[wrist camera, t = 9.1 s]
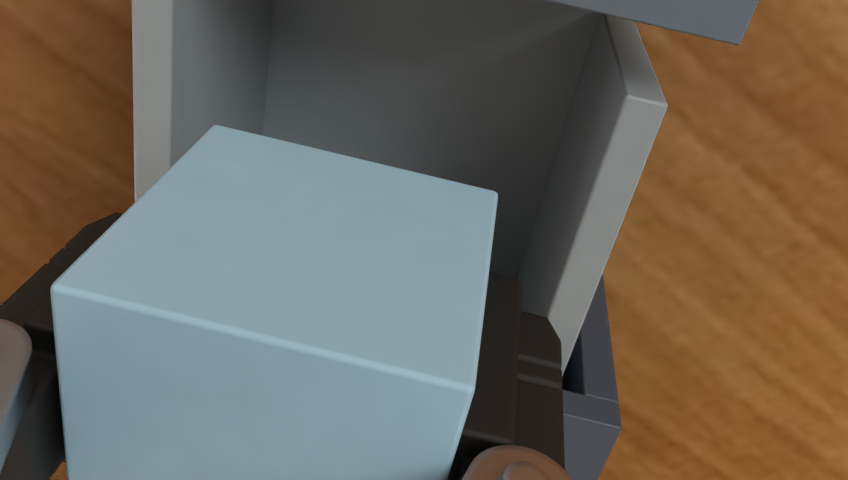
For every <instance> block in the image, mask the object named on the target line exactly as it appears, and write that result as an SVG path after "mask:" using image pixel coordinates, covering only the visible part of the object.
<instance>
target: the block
mask: <svg viewBox="0 0 848 480" xmlns="http://www.w3.org/2000/svg"><path fill="white" fill-rule="evenodd" d="M497 202H498V194H497V192H495V191H492V190H488V189H483V188H479V187H475V186H471V185H467V184H462V183H458V182H454V181H450V180H446V179H442V178H437V177H433V176H429V175H425V174H421V173H416V172H412V171H408V170H404V169H400V168H395V167H391V166H387V165H383V164H379V163H375V162H370V161H366V160H362V159H358V158H354V157H349V156H345V155H341V154H337V153H333V152H329V151H324V150H320V149H316V148H312V147H308V146H303V145H299V144H295V143H291V142H287V141H282V140H278V139H274V138H270V137H266V136H262V135H257V134H253V133H249V132H245V131H241V130H236V129H232V128H228V127H224V126H220V125H214V126H212V127H211V128H210V129H209V130H208V131H207V132H206V133H205V134H204V135H203V136H202V137H201V138H200V139H199V140H198V141H197V142H196V143H195V144H194V145H193V146H192V147H191V148H190V149H189V150H188V151H187V152H186V153H185V154H184V155H183V156H182V157H181V158H180V159H179V160H178V161H177V162H176V163H174V164H173V165H172V166H171V167H170V168H169V169H168V170H167V171H166V172H165V173H164V174H163V175H162V176H161V177H160V178H159V179H158V180H157V181H156V182H155V183H154V184H153V185H152V186H151V187H150V188H149V189H148V190H147V191H146V192H145V193H144V194H143V195H142V196H141V197H140V198H139V199H138V200H137V201H136V202H135V203H134V204H133V205H132V206H131V207H130V208H129V209H128V210H127V211H126V212H125V213H124V214H123V215H122V216H121V217H120V218H119V219H118V220H116V221H115V222H114V223H113V224H112V225H111V226H110V227H109V228H108V229H107V230H106V231H105V232H104V233H103V234H102V235H101V236H100V237H99V238H98V239H97V240H96V241H95V242H94V243H93V244H92V245H91V246H90V247H89V248H88V249H87V250H86V251H85V252H84V253H83V254H82V255H81V256H80V257H79V258H78V259H77V260H76V261H75V262H74V263H73V264H72V265H71V266H70V267H69V268H68V269H67V270H66V271H65V272H64V273H63V274H62V275H61V276H59V277H58V278H57V279H56V280H55V281H54V282H53V284H52V286H51V289H50V294H51V305H52V316H53V327H54V338H55V349H56V360H57V371H58V382H59V393H60V404H61V415H62V426H63V437H64V448H65V460H66V471H67V480H447V479H448V476H449V473H450V469H451V466H452V463H453V460H454V457H455V453H456V450H457V447H458V444H459V440H460V437H461V434H462V431H463V428H464V424H465V421H466V418H467V415H468V411H469V408H470V405H471V402H472V398H473V395H474V392H475V386H476V378H477V369H478V361H479V353H480V344H481V336H482V327H483V319H484V311H485V302H486V294H487V286H488V277H489V269H490V260H491V252H492V244H493V235H494V227H495V219H496V210H497Z"/></svg>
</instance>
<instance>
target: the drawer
mask: <svg viewBox="0 0 848 480" xmlns="http://www.w3.org/2000/svg"><path fill="white" fill-rule="evenodd" d="M758 2H759V0H132V60H133V125H134V191H135V202H136V201H137V200H138V199H139V198H140V197H141V196H142V195H143V194H144V193H145V192H146V191H147V190H148V189H149V188H150V187H151V186H152V185H153V184H154V183H155V182H156V181H157V180H158V179H159V178H160V177H161V176H162V175H163V174H164V173H165V172H166V171H167V170H168V169H169V168H170V167H171V166H172V165H173V164H174V163H176V162H177V161H178V160H179V159H180V158H181V157H182V156H183V155H184V154H185V153H186V152H187V151H188V150H189V149H190V148H191V147H192V146H193V145H194V144H195V143H196V142H197V141H198V140H199V139H200V138H201V137H202V136H203V135H204V134H205V133H206V132H207V131H208V130H209V129H210V128H211V127H212V126H214V125H220V126H224V127H228V128H232V129H236V130H241V131H245V132H249V133H253V134H257V135H262V136H266V137H270V138H274V139H278V140H282V141H287V142H291V143H295V144H299V145H303V146H308V147H312V148H316V149H320V150H324V151H329V152H333V153H337V154H341V155H345V156H349V157H354V158H358V159H362V160H366V161H370V162H375V163H379V164H383V165H387V166H391V167H395V168H400V169H404V170H408V171H412V172H416V173H421V174H425V175H429V176H433V177H437V178H442V179H446V180H450V181H454V182H458V183H462V184H467V185H471V186H475V187H479V188H483V189H488V190H492V191H495V192H497V194H498V202H497V210H496V219H495V227H494V235H493V244H492V252H491V260H490V269H489V271H491V272H495V273H499V274H504V275H508V276H512V277H516V278H520V279H522V292H521V311H523V312H527V313H531V314H535V315H539V316H543V317H547V318H548V319H549V321H550V323H551V325H552V326H553V328H554V330H555V331H556V333H557V335H558V337H559V338H560V340H561V352H562V367H561V370H562V376H563V373H564V371H565V368H566V366H567V363H568V361H569V358H570V355H571V353H572V350H573V348H574V345H575V343H576V340H577V338H578V335H579V332H580V330H581V327H582V325H583V322H584V320H585V317H586V315H587V312H588V309H589V307H590V304H591V302H592V299H593V297H594V294H595V291H596V289H597V286H598V284H599V281H600V279H601V276H602V274H603V271H604V268H605V266H606V263H607V261H608V258H609V256H610V253H611V250H612V248H613V245H614V243H615V240H616V238H617V235H618V233H619V230H620V227H621V225H622V222H623V220H624V217H625V215H626V212H627V209H628V207H629V204H630V202H631V199H632V197H633V194H634V192H635V189H636V186H637V184H638V181H639V179H640V176H641V174H642V171H643V169H644V166H645V163H646V161H647V158H648V156H649V153H650V151H651V148H652V145H653V143H654V140H655V138H656V135H657V133H658V130H659V128H660V125H661V122H662V120H663V117H664V115H665V112H666V110H667V102H666V100H665V97H664V95H663V92H662V90H661V87H660V85H659V82H658V80H657V77H656V75H655V72H654V70H653V67H652V65H651V62H650V60H649V57H648V55H647V52H646V50H645V47H644V45H643V42H642V40H641V37H640V35H639V32H638V30H637V27H636V25H635V22H634V21H636V22H640V23H644V24H648V25H653V26H657V27H661V28H665V29H670V30H674V31H678V32H683V33H687V34H691V35H695V36H700V37H704V38H708V39H713V40H717V41H721V42H725V43H730V44H734V45H740V43H741V42H742V39H743V37H744V34H745V32H746V30H747V27H748V25H749V23H750V20H751V18H752V16H753V13H754V11H755V9H756V6H757V4H758Z"/></svg>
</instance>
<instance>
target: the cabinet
mask: <svg viewBox="0 0 848 480" xmlns="http://www.w3.org/2000/svg"><path fill="white" fill-rule="evenodd" d="M562 390H563V421H564V455H565V470H566V472H567V473H568V475H569V476H570V477H571V478H572V480H598V477H599V475H600V473H601V471H602V469H603V467H604V465H605V463H606V460H607V458H608V456H609V454H610V452H611V450H612V448H613V446H614V443H615V441H616V439H617V437H618V435H619V433H620V431H621V429H622V427H621V419H620V411H619V404H618V395H617V386H616V378H615V370H614V362H613V354H612V345H611V337H610V329H609V321H608V313H607V304H606V296H605V288H604V280H603V274H602V276H601V279H600V281H599V284H598V286H597V289H596V291H595V294H594V297H593V299H592V302H591V304H590V307H589V309H588V312H587V315H586V317H585V320H584V322H583V325H582V327H581V330H580V332H579V335H578V338H577V340H576V343H575V345H574V348H573V350H572V353H571V355H570V358H569V361H568V363H567V366H566V368H565V371H564V373H563V376H562Z"/></svg>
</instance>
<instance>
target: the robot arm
mask: <svg viewBox="0 0 848 480" xmlns="http://www.w3.org/2000/svg"><path fill="white" fill-rule="evenodd" d="M122 215H123V214H119V213H114V214H112V215H110V216H108V217H105V218H103V219H101V220H98V221H96V222H94V223H91V224H89V225H87V226H85V227H84V228H83V229H82V230H81V231H80V232H79V233H78V234H77V235H76V236H75V237H74V238H73V239H71V240H70V241H69V242H68V243H67V244H66V248H65V249H64V248H62V249H61V250H60V251H59V252H58V253H56V254H55V255H54V256H53V257H52V258H51V259H50V262H49V264H45V265H44V266H43V267H41V268H40V269H39V270H38V271H37V272H36V273H35V274H34V275H33V276H32V277H31V278H30V279H29V280H27V281H26V282H25V283H24V284H23V285H22V286H21V287H20V288H19V289H18V290H17V291H16V292H15V293H14V294H12V295H11V296H10V297H9V298H8V299H7V300H6V301H5V302H4V303H3V304H2V305H1V306H0V480H49V479H50V478H51V476H52V475H53V473H54V472H55V471H56V469H57V468H58V467H59V465H60V464H61V462H66V460H65V448H64V437H63V426H62V415H61V404H60V393H59V382H58V371H57V360H56V349H55V338H54V327H53V316H52V305H51V294H50V289H51V286H52V284H53V282H54V281H55V280H56V279H57V278H58V277H59V276H61V275H62V274H63V273H64V272H65V271H66V270H67V269H68V268H69V267H70V266H71V265H72V264H73V263H74V262H75V261H76V260H77V259H78V258H79V257H80V256H81V255H82V254H83V253H84V252H85V251H86V250H87V249H88V248H89V247H90V246H91V245H92V244H93V243H94V242H95V241H96V240H97V239H98V238H99V237H100V236H101V235H102V234H103V233H104V232H105V231H106V230H107V229H108V228H109V227H110V226H111V225H112V224H113V223H114V222H115V221H116V220H118V219H119V218H120V217H121V216H122ZM521 292H522V279H520V278H516V277H512V276H508V275H504V274H499V273H495V272H491V271H489V277H488V286H487V294H486V302H485V311H484V319H483V327H482V336H481V344H480V353H479V361H478V369H477V378H476V386H475V392H474V395H473V398H472V402H471V405H470V408H469V411H468V415H467V418H466V421H465V424H464V428H463V431H462V434H461V437H460V440H459V444H458V447H457V450H456V453H455V457H454V460H453V463H452V466H451V469H450V473H449V476H448V479H447V480H572V478H571V477H570V476H569V475H568V473H567V472H566V470H565V455H564V421H563V390H562V370H561V367H562V352H561V340H560V338H559V337H558V335H557V333H556V331H555V330H554V328H553V326H552V325H551V323H550V321H549V319H548V318H547V317H543V316H539V315H535V314H531V313H527V312H523V311H521Z"/></svg>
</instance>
